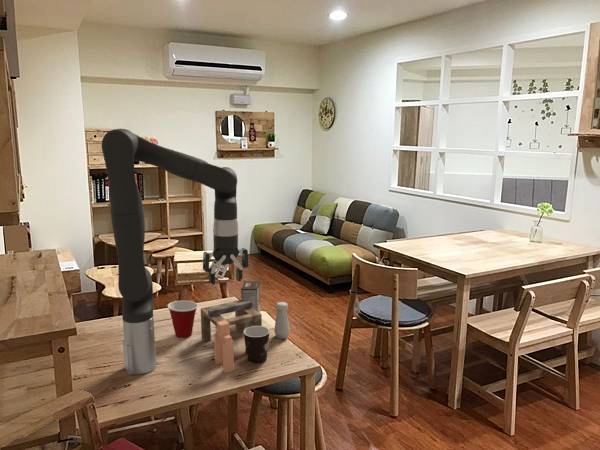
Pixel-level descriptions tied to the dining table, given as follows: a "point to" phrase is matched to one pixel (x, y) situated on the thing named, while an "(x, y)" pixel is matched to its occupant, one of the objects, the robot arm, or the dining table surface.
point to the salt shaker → (281, 321)
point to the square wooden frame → (236, 306)
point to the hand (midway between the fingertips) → (226, 282)
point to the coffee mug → (256, 343)
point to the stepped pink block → (224, 346)
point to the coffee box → (251, 296)
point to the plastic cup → (183, 317)
